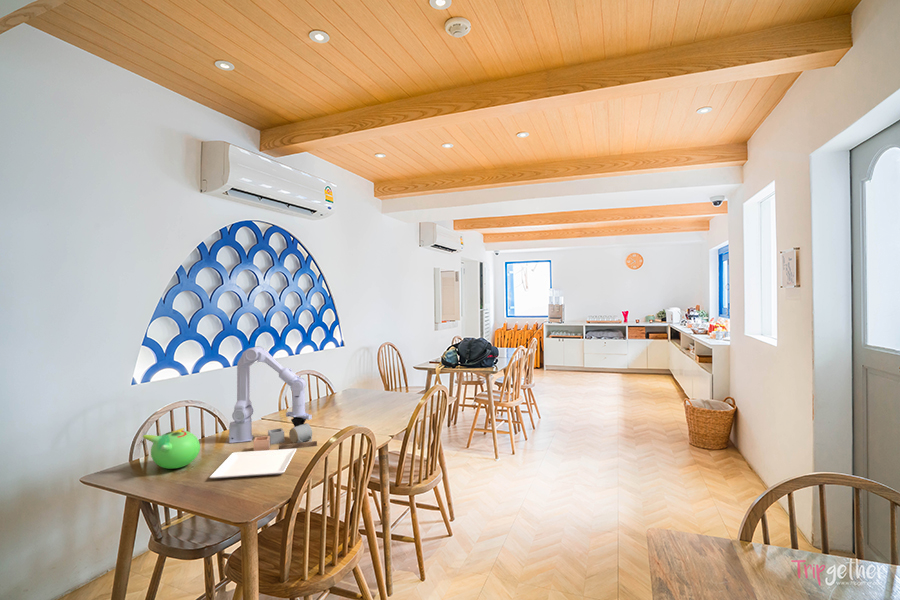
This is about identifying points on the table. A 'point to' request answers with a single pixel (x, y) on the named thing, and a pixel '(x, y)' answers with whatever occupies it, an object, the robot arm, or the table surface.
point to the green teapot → (174, 448)
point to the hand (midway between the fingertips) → (299, 433)
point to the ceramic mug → (301, 433)
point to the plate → (254, 463)
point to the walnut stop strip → (298, 445)
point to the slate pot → (276, 436)
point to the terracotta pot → (262, 443)
